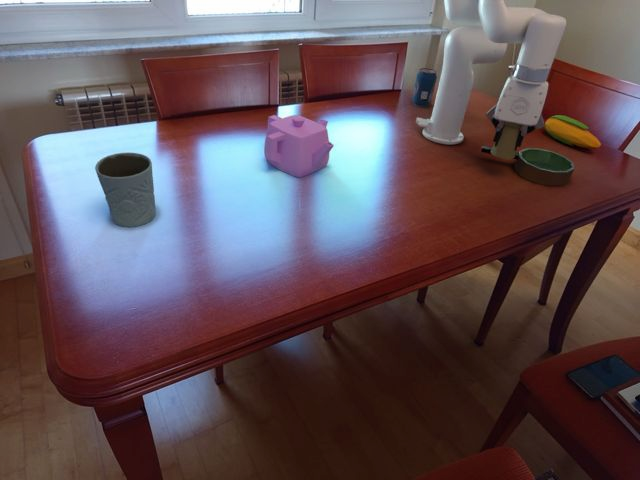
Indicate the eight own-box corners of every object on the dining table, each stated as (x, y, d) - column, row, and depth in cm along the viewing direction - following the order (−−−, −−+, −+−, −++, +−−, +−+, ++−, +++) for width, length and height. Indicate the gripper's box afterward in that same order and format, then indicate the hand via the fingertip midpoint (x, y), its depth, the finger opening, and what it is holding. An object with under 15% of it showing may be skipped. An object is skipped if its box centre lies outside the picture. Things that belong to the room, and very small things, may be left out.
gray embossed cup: (137, 198, 96) (127, 147, 89) (171, 213, 92) (163, 162, 85) (97, 218, 89) (82, 165, 81) (132, 236, 85) (119, 182, 78)
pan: (475, 169, 120) (480, 155, 117) (480, 150, 130) (484, 136, 128) (569, 190, 114) (576, 176, 111) (565, 168, 124) (572, 155, 122)
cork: (518, 154, 114) (533, 113, 107) (508, 161, 110) (523, 119, 104) (496, 147, 117) (510, 106, 111) (486, 153, 113) (499, 111, 107)
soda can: (410, 100, 162) (417, 66, 155) (429, 102, 162) (436, 68, 155) (411, 106, 157) (418, 72, 149) (431, 108, 156) (439, 74, 149)
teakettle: (265, 147, 121) (265, 103, 113) (326, 150, 122) (330, 107, 115) (262, 177, 107) (262, 130, 100) (330, 180, 109) (335, 133, 101)
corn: (559, 107, 143) (615, 131, 129) (551, 129, 148) (604, 154, 134) (543, 111, 141) (598, 136, 127) (536, 133, 146) (588, 159, 132)
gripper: (492, 71, 101) (470, 145, 112) (570, 84, 97) (539, 159, 107) (494, 64, 107) (473, 135, 117) (567, 75, 102) (539, 148, 113)
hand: (505, 145), depth 112 cm, fingers closed on cork, 4 cm apart
